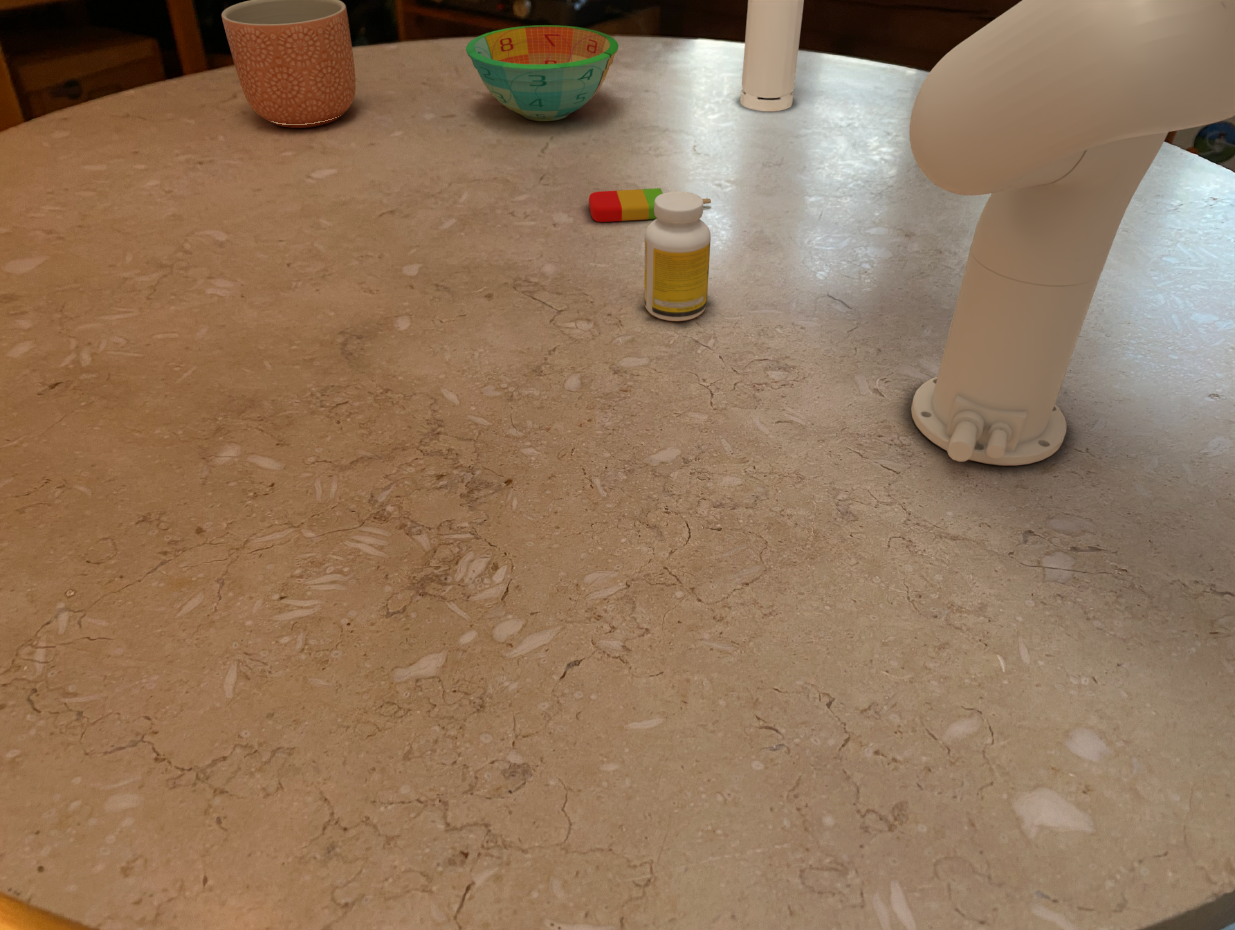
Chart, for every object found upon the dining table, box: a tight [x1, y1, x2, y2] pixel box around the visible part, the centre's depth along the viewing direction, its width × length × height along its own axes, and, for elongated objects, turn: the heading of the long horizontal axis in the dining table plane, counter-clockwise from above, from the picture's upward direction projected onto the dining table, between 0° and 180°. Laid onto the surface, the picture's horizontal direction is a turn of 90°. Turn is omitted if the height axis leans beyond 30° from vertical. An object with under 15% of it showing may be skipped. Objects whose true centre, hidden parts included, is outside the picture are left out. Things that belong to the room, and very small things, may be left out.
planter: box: [221, 0, 357, 129], centre depth 138 cm, size 17×17×15 cm
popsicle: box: [588, 187, 712, 223], centre depth 115 cm, size 6×15×2 cm, turn 97°
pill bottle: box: [643, 190, 712, 322], centre depth 93 cm, size 6×6×12 cm
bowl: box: [465, 24, 620, 122], centre depth 140 cm, size 22×22×10 cm
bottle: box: [739, 0, 805, 112], centre depth 138 cm, size 8×8×28 cm
